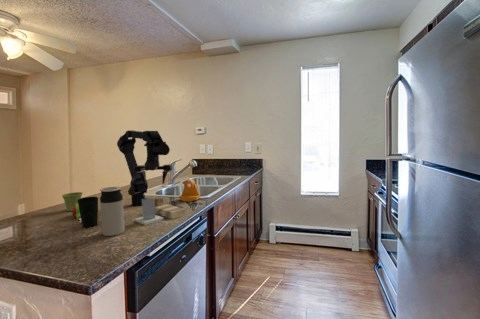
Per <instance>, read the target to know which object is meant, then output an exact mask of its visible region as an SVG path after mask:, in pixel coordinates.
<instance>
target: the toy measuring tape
mask: <svg viewBox="0 0 480 319" xmlns="http://www.w3.org/2000/svg"><path fill="white" fill-rule="evenodd" d="M71 212H72V216H75V218H76V220H78V221H79V220H81V216H80V211H79V206H78V204H76V205H75V207H73V208H72V211H71ZM79 223H80V224H81V223H82V221H79Z"/></svg>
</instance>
